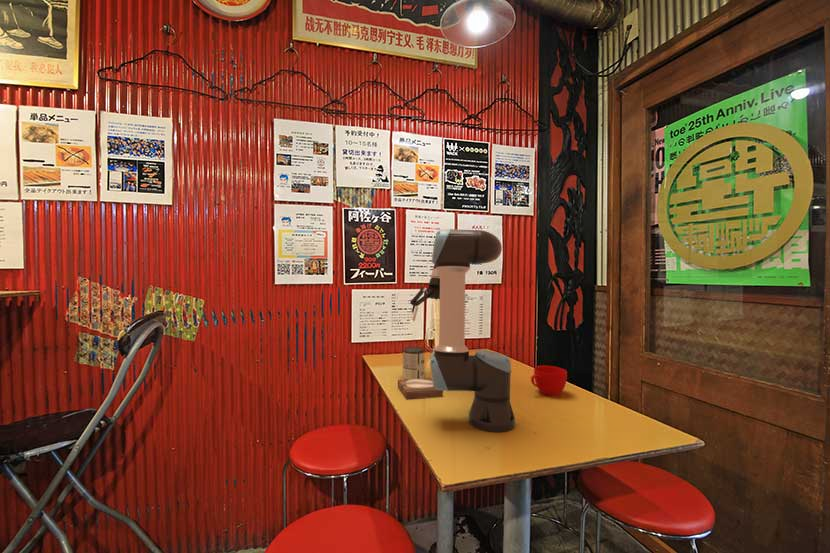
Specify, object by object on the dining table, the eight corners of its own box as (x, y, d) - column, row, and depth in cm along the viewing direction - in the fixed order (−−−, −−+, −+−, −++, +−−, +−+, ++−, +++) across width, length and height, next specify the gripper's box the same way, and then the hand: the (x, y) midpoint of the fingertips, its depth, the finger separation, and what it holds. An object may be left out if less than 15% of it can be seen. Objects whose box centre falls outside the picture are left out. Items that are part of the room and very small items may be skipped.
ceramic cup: (519, 392, 150) (520, 368, 150) (548, 386, 158) (549, 364, 157) (543, 402, 138) (544, 376, 138) (573, 396, 146) (574, 372, 146)
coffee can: (403, 375, 170) (404, 346, 170) (425, 376, 169) (425, 346, 169) (400, 381, 160) (401, 350, 160) (423, 383, 159) (424, 351, 159)
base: (442, 396, 142) (442, 388, 142) (406, 399, 138) (406, 390, 138) (430, 384, 157) (431, 377, 157) (397, 387, 153) (398, 379, 153)
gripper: (465, 287, 167) (454, 330, 160) (415, 278, 175) (404, 319, 169) (462, 281, 160) (452, 326, 154) (411, 273, 168) (399, 315, 162)
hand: (426, 323), depth 161 cm, fingers open, 13 cm apart
